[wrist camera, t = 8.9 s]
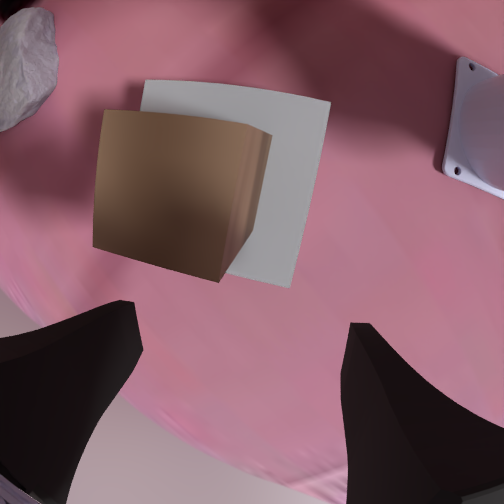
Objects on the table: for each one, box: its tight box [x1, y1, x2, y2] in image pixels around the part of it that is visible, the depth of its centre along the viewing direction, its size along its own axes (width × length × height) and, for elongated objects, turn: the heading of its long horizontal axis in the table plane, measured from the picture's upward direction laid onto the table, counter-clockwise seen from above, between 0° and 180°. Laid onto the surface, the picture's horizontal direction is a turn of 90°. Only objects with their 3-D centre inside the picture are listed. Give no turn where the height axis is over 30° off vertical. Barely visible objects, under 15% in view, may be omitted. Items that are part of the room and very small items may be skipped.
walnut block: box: [93, 109, 273, 283], centre depth 11 cm, size 4×4×6 cm
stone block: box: [0, 7, 59, 132], centre depth 17 cm, size 12×5×10 cm
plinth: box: [140, 80, 331, 288], centre depth 16 cm, size 9×9×4 cm
